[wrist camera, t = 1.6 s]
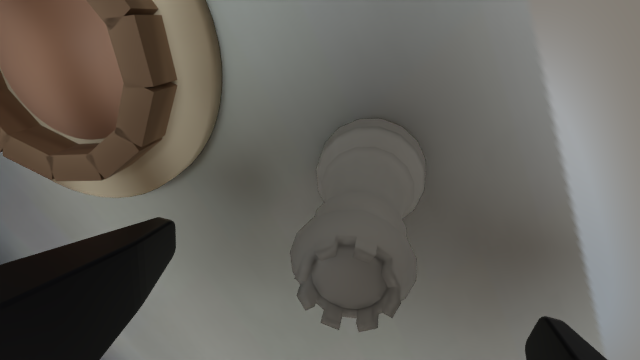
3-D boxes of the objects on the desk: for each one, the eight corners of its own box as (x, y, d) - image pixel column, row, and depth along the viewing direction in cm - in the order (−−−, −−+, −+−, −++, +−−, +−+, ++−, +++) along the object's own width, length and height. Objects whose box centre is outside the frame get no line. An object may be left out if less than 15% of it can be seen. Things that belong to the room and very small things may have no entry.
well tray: (105, 228, 20) (66, 256, 18) (-88, 20, 17) (-164, 21, 15) (282, 97, 15) (261, 112, 13) (52, -225, 12) (-28, -281, 10)
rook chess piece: (415, 103, 14) (429, 190, 7) (433, 204, 16) (460, 358, 9) (308, 127, 16) (229, 221, 8) (335, 218, 17) (287, 363, 10)
